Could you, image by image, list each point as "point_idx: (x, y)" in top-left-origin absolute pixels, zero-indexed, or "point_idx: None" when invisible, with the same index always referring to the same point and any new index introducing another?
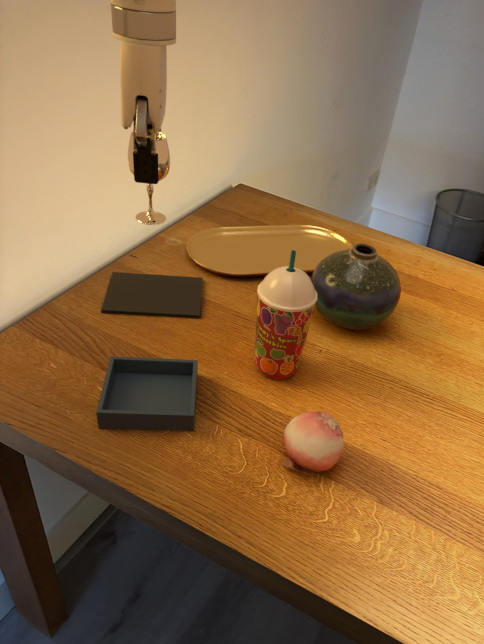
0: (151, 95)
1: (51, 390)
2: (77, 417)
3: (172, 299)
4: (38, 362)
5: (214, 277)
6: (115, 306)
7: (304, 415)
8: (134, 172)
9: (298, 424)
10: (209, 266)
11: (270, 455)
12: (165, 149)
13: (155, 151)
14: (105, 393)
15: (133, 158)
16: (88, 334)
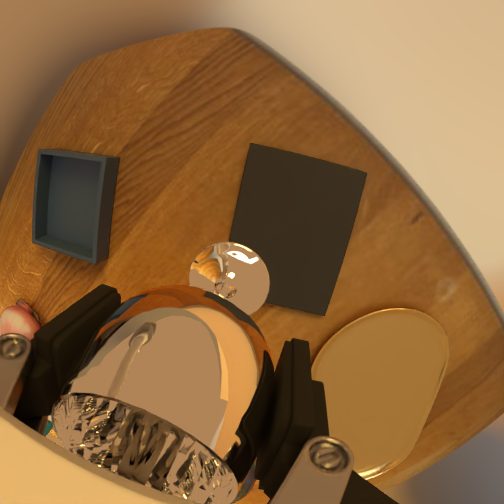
0: None
1: (103, 93)
2: (66, 126)
3: (267, 258)
4: (150, 70)
5: (329, 332)
6: (257, 165)
7: (13, 332)
8: (84, 297)
9: (7, 324)
10: (357, 331)
11: (31, 293)
12: (119, 459)
13: (45, 417)
14: (56, 155)
15: (49, 322)
16: (198, 124)
